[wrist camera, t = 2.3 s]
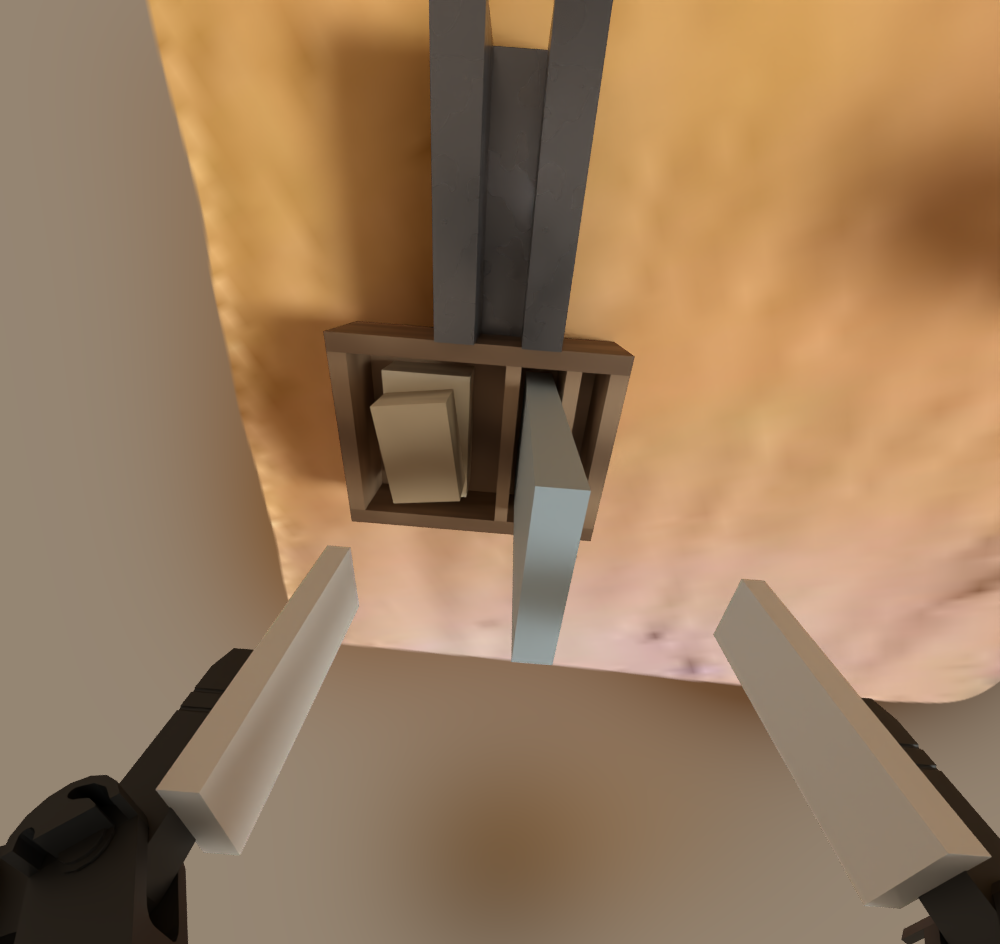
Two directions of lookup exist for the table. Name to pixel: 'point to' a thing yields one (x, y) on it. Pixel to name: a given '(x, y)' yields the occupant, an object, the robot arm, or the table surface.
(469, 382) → the offcut low
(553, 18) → the stand
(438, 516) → the rack
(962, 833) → the robot arm
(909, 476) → the table surface
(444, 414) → the offcut top
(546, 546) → the blue-grey rectangular panel
